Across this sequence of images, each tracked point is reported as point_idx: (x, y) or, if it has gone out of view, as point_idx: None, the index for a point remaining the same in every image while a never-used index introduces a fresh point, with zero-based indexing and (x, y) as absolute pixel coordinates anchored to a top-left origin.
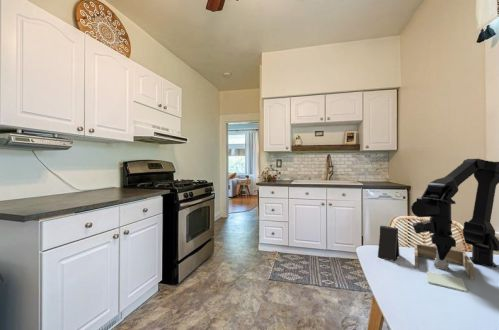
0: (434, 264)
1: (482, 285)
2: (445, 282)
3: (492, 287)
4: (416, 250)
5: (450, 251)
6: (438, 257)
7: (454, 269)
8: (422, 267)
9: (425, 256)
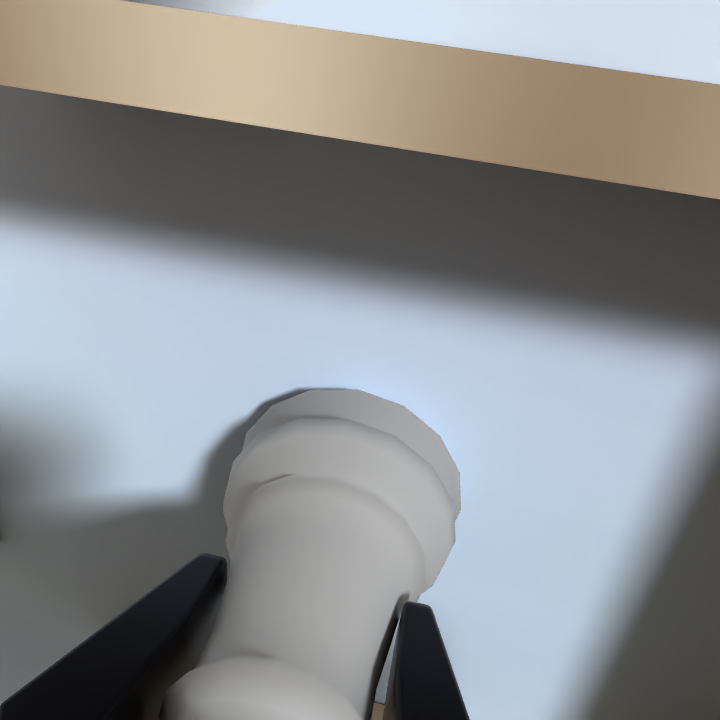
0: (328, 406)
1: (5, 657)
2: None
3: None
4: (382, 110)
5: None
6: (243, 570)
7: None
8: (145, 157)
9: None
